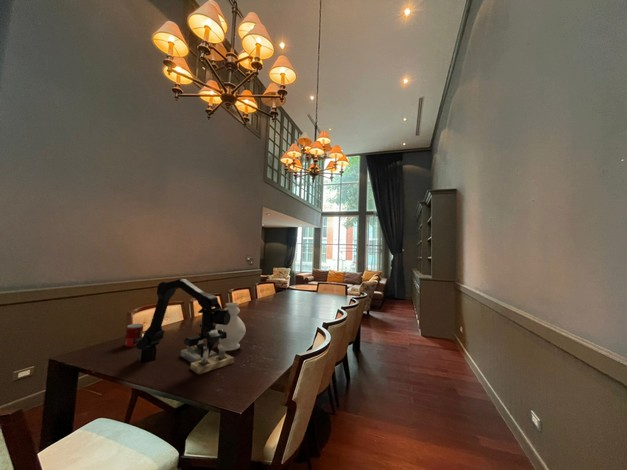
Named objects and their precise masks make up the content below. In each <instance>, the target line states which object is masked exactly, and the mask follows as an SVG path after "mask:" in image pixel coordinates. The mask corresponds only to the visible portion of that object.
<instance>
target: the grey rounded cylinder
mask: <svg viewBox="0 0 627 470" xmlns="http://www.w3.org/2000/svg"><path fill="white" fill-rule="evenodd" d="M208 354H209V347H207V346H204V347H203V357H202V358H201V366H204V365H207V364H208Z"/></svg>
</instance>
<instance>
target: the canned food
mask: <svg viewBox="0 0 627 470" xmlns="http://www.w3.org/2000/svg"><path fill="white" fill-rule="evenodd" d="M143 331H144V323H143V324H142V323H131V324H127V326H126V334H125V340H124V341H125V342H124V345H125V347H126V348H135V347H136V344H137V343H138V342H139V341H141V340H142V337H143V335H144V332H143ZM136 348H137V347H136Z"/></svg>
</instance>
